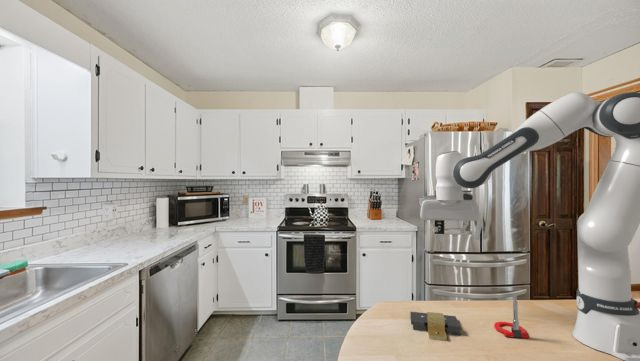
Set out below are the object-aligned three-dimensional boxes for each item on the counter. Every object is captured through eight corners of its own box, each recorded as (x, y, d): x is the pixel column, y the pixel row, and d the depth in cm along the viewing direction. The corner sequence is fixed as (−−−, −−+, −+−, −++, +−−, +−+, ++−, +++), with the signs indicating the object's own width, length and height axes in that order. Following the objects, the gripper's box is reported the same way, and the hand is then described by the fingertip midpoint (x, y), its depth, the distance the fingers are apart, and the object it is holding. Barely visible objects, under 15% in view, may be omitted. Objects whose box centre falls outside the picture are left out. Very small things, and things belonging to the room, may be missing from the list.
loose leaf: (443, 328, 94) (443, 313, 94) (446, 341, 87) (446, 324, 87) (427, 326, 96) (426, 311, 96) (429, 338, 88) (428, 322, 88)
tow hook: (489, 324, 98) (502, 337, 88) (488, 285, 98) (501, 295, 89) (517, 325, 96) (533, 339, 87) (515, 286, 97) (531, 296, 88)
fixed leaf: (455, 319, 100) (455, 312, 100) (461, 335, 90) (461, 327, 90) (410, 314, 104) (410, 307, 104) (411, 329, 94) (411, 321, 94)
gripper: (419, 195, 107) (420, 233, 107) (480, 195, 101) (481, 234, 101) (418, 194, 113) (419, 230, 113) (476, 194, 108) (476, 231, 108)
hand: (449, 232), depth 107 cm, fingers open, 8 cm apart
